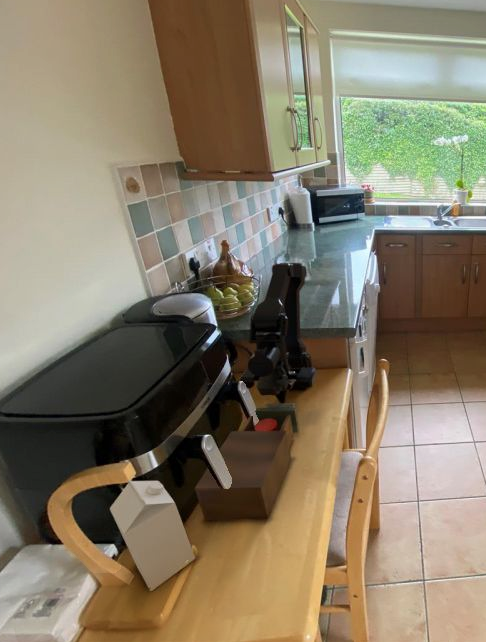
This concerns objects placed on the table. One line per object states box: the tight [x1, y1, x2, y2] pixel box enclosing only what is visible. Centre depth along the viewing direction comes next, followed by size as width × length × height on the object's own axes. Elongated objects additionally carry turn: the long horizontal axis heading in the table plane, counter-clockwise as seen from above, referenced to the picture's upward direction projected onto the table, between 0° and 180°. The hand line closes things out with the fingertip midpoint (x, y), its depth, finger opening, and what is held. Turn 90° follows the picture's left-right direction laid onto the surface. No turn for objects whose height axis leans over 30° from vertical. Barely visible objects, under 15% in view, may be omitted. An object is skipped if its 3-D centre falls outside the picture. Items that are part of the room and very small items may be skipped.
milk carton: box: [109, 480, 196, 592], centre depth 64 cm, size 7×7×19 cm
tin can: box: [255, 418, 278, 431], centre depth 92 cm, size 5×5×6 cm
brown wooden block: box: [194, 430, 292, 521], centre depth 81 cm, size 16×13×9 cm
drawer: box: [240, 402, 301, 447], centre depth 92 cm, size 19×11×7 cm, turn 2°
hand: (283, 403), depth 102 cm, fingers closed
